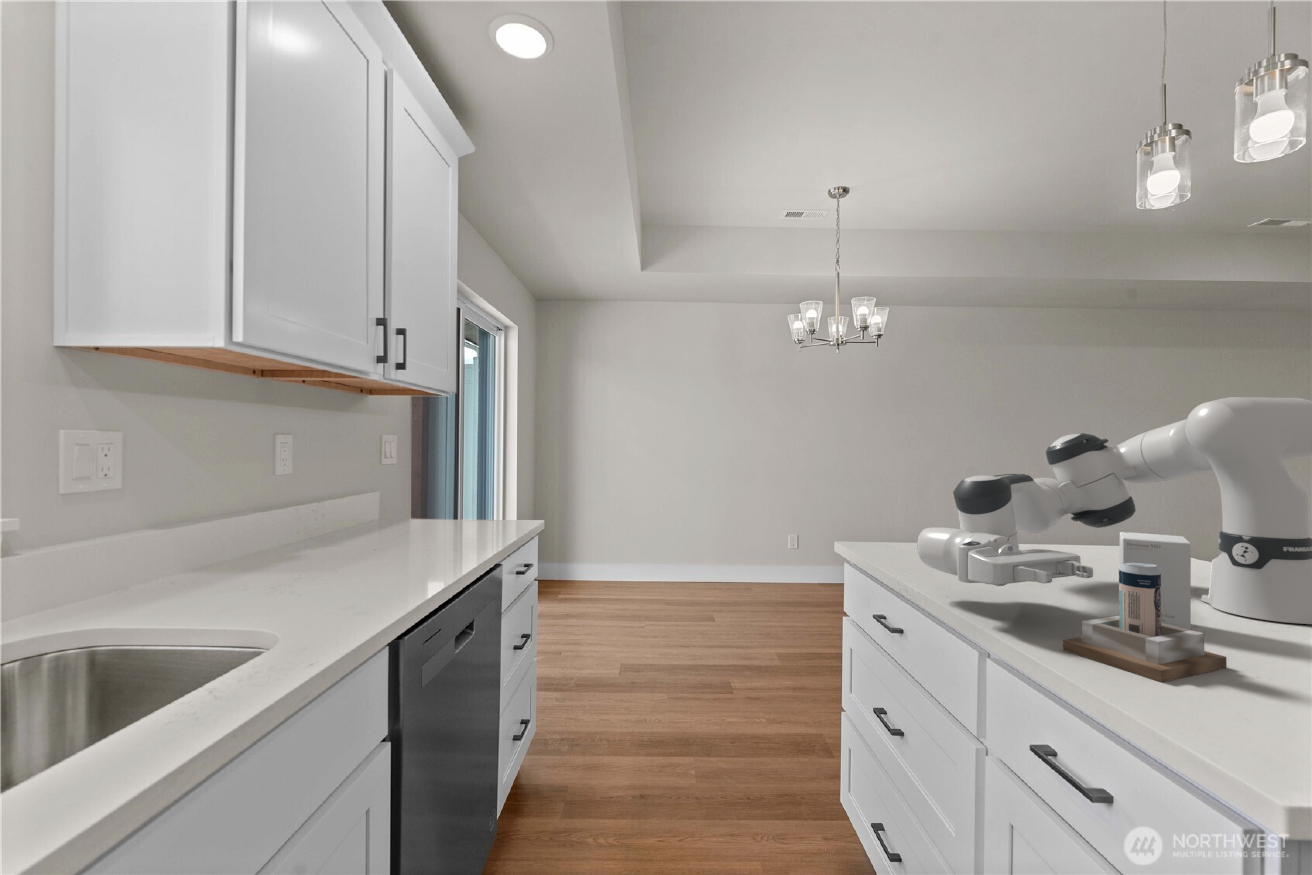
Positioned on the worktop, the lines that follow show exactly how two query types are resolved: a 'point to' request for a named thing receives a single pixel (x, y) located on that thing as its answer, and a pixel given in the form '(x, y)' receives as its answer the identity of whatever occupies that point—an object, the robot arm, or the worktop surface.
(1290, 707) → the worktop surface
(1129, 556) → the supplement box
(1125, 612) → the beer can
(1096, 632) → the socket base
